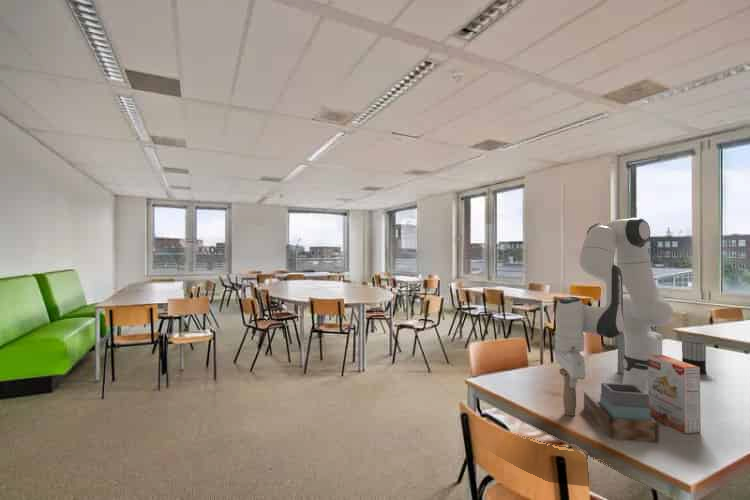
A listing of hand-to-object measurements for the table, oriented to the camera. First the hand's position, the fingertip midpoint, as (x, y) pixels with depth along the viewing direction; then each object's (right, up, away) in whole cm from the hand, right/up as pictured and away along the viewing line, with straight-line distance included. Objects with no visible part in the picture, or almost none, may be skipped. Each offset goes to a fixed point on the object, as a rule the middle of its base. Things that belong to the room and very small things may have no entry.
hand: (569, 383), depth 129 cm
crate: (+11, -9, -12) cm, 19 cm away
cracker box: (+30, -11, -7) cm, 33 cm away
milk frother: (+81, -12, +50) cm, 96 cm away
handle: (0, -11, 0) cm, 11 cm away
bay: (+12, -11, -8) cm, 18 cm away
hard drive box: (+54, -11, +42) cm, 70 cm away
